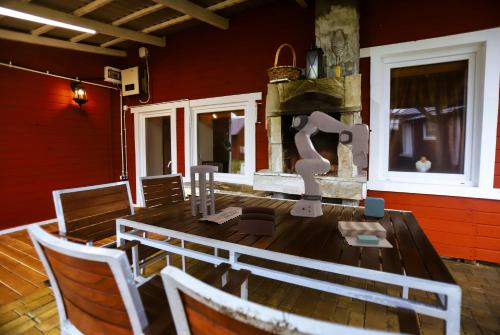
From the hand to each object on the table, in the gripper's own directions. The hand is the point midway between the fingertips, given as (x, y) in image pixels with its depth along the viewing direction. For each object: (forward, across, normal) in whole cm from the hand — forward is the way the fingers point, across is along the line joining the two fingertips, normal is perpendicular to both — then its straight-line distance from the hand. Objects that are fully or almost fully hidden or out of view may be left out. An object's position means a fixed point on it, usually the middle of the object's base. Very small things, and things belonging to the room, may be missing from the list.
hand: (359, 174), depth 161 cm
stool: (+31, +9, +102) cm, 107 cm away
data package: (+31, +22, -15) cm, 41 cm away
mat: (+31, -29, +2) cm, 43 cm away
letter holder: (+32, -21, +59) cm, 71 cm away
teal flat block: (+29, -29, +2) cm, 41 cm away
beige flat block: (+31, -15, +2) cm, 35 cm away
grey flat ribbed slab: (+32, +8, +86) cm, 92 cm away
